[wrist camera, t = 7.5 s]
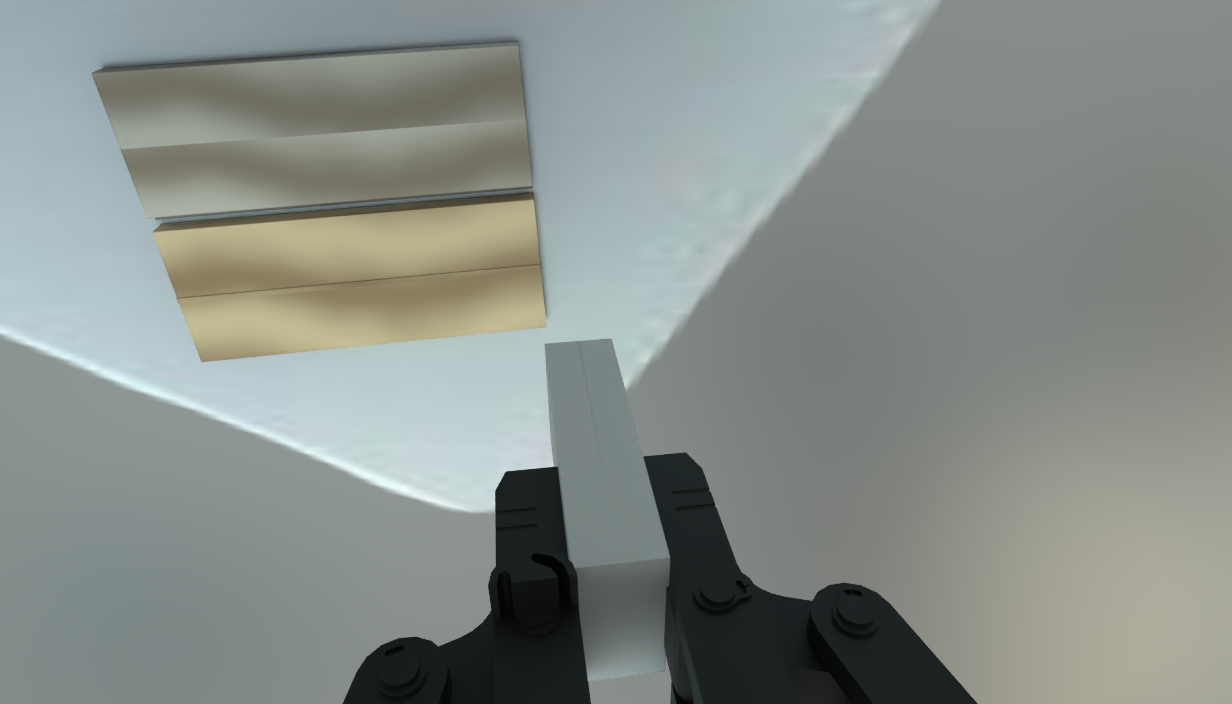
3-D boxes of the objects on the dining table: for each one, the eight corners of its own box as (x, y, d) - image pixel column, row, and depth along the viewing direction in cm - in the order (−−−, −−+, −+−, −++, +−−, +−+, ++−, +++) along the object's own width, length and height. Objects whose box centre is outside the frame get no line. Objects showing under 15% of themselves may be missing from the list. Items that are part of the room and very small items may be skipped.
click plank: (161, 224, 41) (151, 233, 40) (532, 192, 43) (533, 200, 42) (208, 351, 45) (200, 362, 44) (545, 317, 47) (546, 327, 46)
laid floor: (102, 68, 36) (91, 73, 35) (517, 41, 38) (518, 45, 37) (158, 217, 40) (149, 225, 39) (532, 185, 42) (533, 192, 41)
